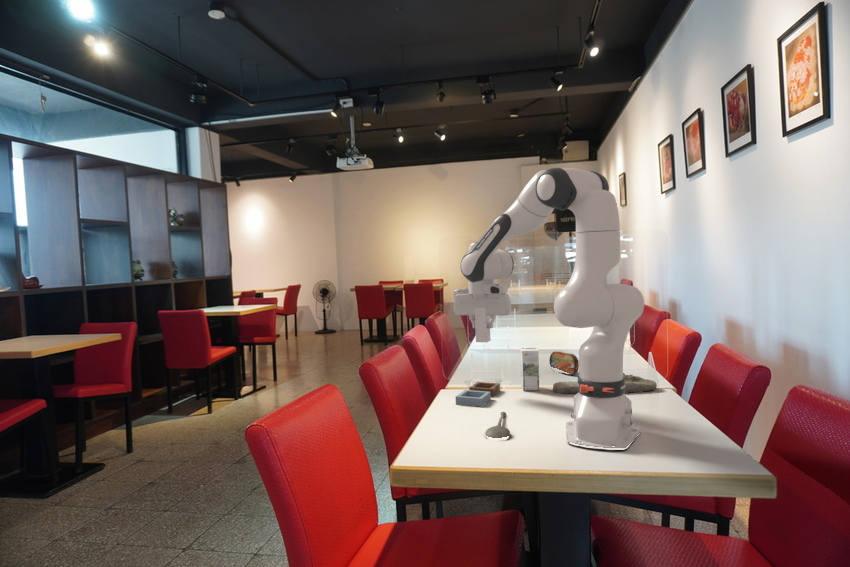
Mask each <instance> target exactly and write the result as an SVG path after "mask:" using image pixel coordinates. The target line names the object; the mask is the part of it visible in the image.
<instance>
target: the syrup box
mask: <svg viewBox="0 0 850 567" xmlns="http://www.w3.org/2000/svg"><path fill="white" fill-rule="evenodd" d="M539 360H540V358H539V350H538V348H537V347H520V365H521V366H520V369H521V370H520V372H521V375H520V376H521V388H522V391H524V392H525V391H526V392H532V391H536V392H538V391H540V364H539V363H540V362H539Z"/></svg>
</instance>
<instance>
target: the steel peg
mask: <svg viewBox="0 0 850 567" xmlns="http://www.w3.org/2000/svg"><path fill="white" fill-rule="evenodd" d="M474 320H475V328H474V329H475V343H488V342H491V328H487V323H490V321H491V319H490V315H486V308H475V318H474Z"/></svg>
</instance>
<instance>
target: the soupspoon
mask: <svg viewBox="0 0 850 567" xmlns="http://www.w3.org/2000/svg"><path fill="white" fill-rule="evenodd" d="M505 415H506V416H508V415H507V413H506V411H501V412H500V417H499V420H498V423H497V425H494V426H491V427H489V428H487V429H486V431H485V433H484V434H485V435H486V436H488V437H492V438H502V437H507V436H510V437H511V432H510V429H508V428H507V427H505V426H503V425H502V422H503V418H504V417H506V416H505ZM485 435H484V436H485Z"/></svg>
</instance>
